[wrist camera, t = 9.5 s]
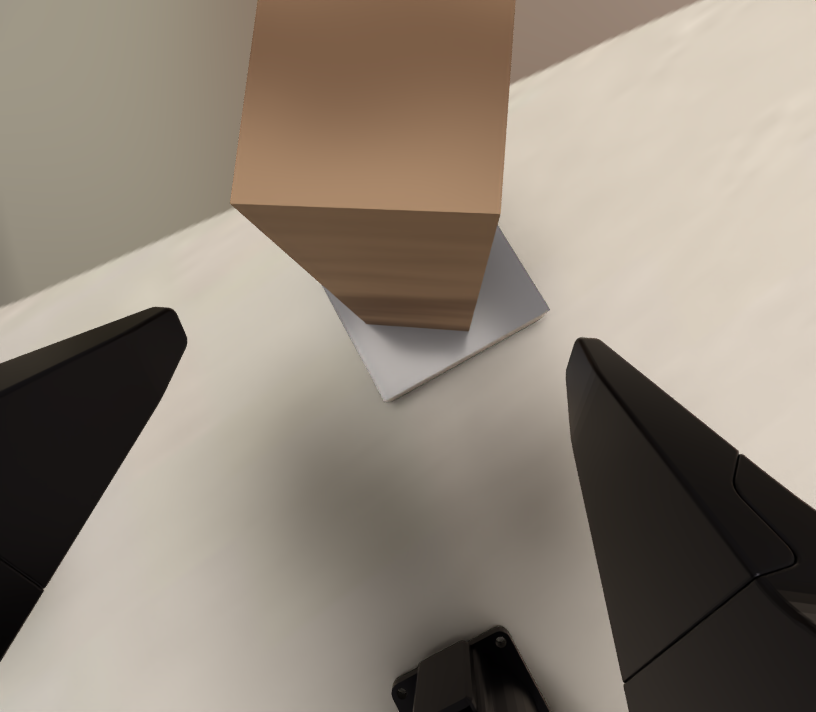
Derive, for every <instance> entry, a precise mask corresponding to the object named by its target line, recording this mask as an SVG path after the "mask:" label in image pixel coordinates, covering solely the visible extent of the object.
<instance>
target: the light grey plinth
mask: <svg viewBox="0 0 816 712" xmlns="http://www.w3.org/2000/svg"><path fill="white" fill-rule="evenodd" d="M322 286H323V285H322ZM323 288H324V290H325V292H326V294H327V296H328V297H329V299H330V301H331V303H332V305H333V307H334V309H335V311H336V312H337V314H338V316H339V318H340V320H341V322H342V324H343V326H344V328H345V329H346V331H347V333H348V335H349V337H350V339H351V341H352V343H353V344H354V346H355V348H356V350H357V352H358V354H359V356H360V358H361V359H362V361H363V363H364V365H365V367H366V369H367V371H368V373H369V375H370V376H371V378H372V380H373V382H374V384H375V386H376V388H377V390H378V391H379V393H380V395H381V397H382V399H383V401H384V402H392V401H394V400H395V399H397V398H399V397H401V396H403V395H404V394H406V393H408V392H410V391H412V390H413V389H415V388H417V387H419V386H421V385H422V384H424V383H426V382H428V381H430V380H431V379H433V378H435V377H437V376H439V375H440V374H442V373H444V372H446V371H448V370H449V369H451V368H453V367H455V366H457V365H458V364H460V363H462V362H464V361H466V360H467V359H469V358H471V357H473V356H475V355H476V354H478V353H480V352H482V351H484V350H485V349H487V348H489V347H491V346H493V345H495V344H496V343H498V342H500V341H502V340H504V339H505V338H507V337H509V336H511V335H513V334H514V333H516V332H518V331H520V330H522V329H523V328H525V327H527V326H529V325H531V324H532V323H534V322H536V321H538V320H539V319H540V318H542V317H543V316H544V315H545V314H546V313H547V312H548V311H549V310H550V309H549V307H548V305H547V304H546V302H545V301H544V299H543V297H542V296H541V294H540V293H539V291H538V289H537V288H536V286H535V284H534V283H533V281H532V280H531V278H530V276H529V275H528V273H527V272H526V270H525V268H524V267H523V265H522V263H521V262H520V260H519V259H518V257H517V255H516V254H515V252H514V251H513V249H512V247H511V246H510V244H509V243H508V241H507V239H506V238H505V236H504V234H503V233H502V231H501V230H500V228H499V226H498V225H497V228H496V232H495V236H494V240H493V243H492V247H491V251H490V255H489V258H488V262H487V266H486V269H485V273H484V277H483V281H482V284H481V288H480V292H479V296H478V299H477V303H476V307H475V310H474V314H473V318H472V322H471V325H470V329H469V331H456V330H442V329H428V328H414V327H400V326H386V325H372V324H366V323H365V322H364V321H362V320H361V319H360V318H359V317H358V316H357V315H356V314H355V313H353V312H352V311H351V310H350V309H349V308H348V307H347V306H345V305H344V304H343V303H342V302H341V301H340V300H339V299H338V298H336V297H335V296H334V295H333V294H332V293H331V292H330V291H328V290H327V289H326V288H325V287H324V286H323Z"/></svg>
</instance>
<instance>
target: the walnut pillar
mask: <svg viewBox="0 0 816 712" xmlns="http://www.w3.org/2000/svg"><path fill="white" fill-rule="evenodd" d="M514 14H515V0H258V2H257V9H256V17H255V24H254V31H253V39H252V46H251V53H250V60H249V68H248V75H247V82H246V90H245V97H244V104H243V112H242V120H241V126H240V134H239V141H238V148H237V156H236V163H235V171H234V178H233V185H232V193H231V200H230V204H231V205H232V206H233V207H234V208H236V209H237V210H238V211H239V212H240V213H241V214H242V215H243V216H245V217H246V218H247V219H248V220H249V221H250V222H251V223H253V224H254V225H255V226H256V227H257V228H258V229H259V230H260V231H262V232H263V233H264V234H265V235H266V236H267V237H268V238H270V239H271V240H272V241H273V242H274V243H275V244H276V245H277V246H279V247H280V248H281V249H282V250H283V251H284V252H285V253H287V254H288V255H289V256H290V257H291V258H292V259H293V260H294V261H296V262H297V263H298V264H299V265H300V266H301V267H302V268H304V269H305V270H306V271H307V272H308V273H309V274H310V275H311V276H313V277H314V278H315V279H316V280H317V281H318V282H319V283H321V284H322V285H323V286H324V287H325V288H326V289H327V290H328V291H330V292H331V293H332V294H333V295H334V296H335V297H336V298H338V299H339V300H340V301H341V302H342V303H343V304H344V305H345V306H347V307H348V308H349V309H350V310H351V311H352V312H353V313H355V314H356V315H357V316H358V317H359V318H360V319H361V320H362V321H364V322H365V323H366V324H372V325H386V326H400V327H414V328H428V329H442V330H456V331H469V329H470V325H471V322H472V318H473V314H474V310H475V307H476V303H477V299H478V296H479V292H480V288H481V284H482V281H483V277H484V273H485V269H486V266H487V262H488V258H489V255H490V251H491V247H492V243H493V240H494V236H495V232H496V228H497V225H498V221H499V217H500V213H501V198H502V184H503V170H504V156H505V142H506V128H507V113H508V99H509V85H510V71H511V57H512V43H513V29H514Z"/></svg>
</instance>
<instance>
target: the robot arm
mask: <svg viewBox="0 0 816 712" xmlns="http://www.w3.org/2000/svg"><path fill="white" fill-rule="evenodd" d="M186 346H187V336H186V334H185V331H184V329H183V327H182V324H181V322H180V320H179V318H178V315H177V313H176V312H175V311H174V310H173V309H171V308H166V307H152V308H149V309H146V310H143V311H141V312H138V313H135V314H133V315H130V316H127V317H124V318H122V319H119V320H116V321H114V322H111V323H108V324H106V325H103V326H100V327H97V328H95V329H92V330H89V331H87V332H84V333H81V334H79V335H76V336H73V337H70V338H68V339H65V340H62V341H60V342H57V343H54V344H51V345H49V346H46V347H43V348H41V349H38V350H35V351H33V352H30V353H27V354H24V355H22V356H19V357H16V358H14V359H11V360H8V361H6V362H3V363H0V662H1V660H2V658H3V657H4V655H5V654H6V652H7V650H8V649H9V647H10V645H11V644H12V642H13V641H14V639H15V637H16V636H17V634H18V632H19V631H20V629H21V628H22V626H23V624H24V623H25V621H26V619H27V618H28V616H29V615H30V613H31V611H32V610H33V608H34V606H35V605H36V603H37V602H38V600H39V598H40V597H41V595H42V593H43V592H44V588H45V587H46V586H47V585H48V583H49V581H50V580H51V578H52V576H53V575H54V573H55V572H56V570H57V568H58V567H59V565H60V563H61V562H62V560H63V559H64V557H65V555H66V554H67V552H68V550H69V549H70V547H71V546H72V544H73V542H74V541H75V539H76V537H77V536H78V534H79V533H80V531H81V529H82V528H83V526H84V524H85V523H86V521H87V520H88V518H89V516H90V515H91V513H92V511H93V510H94V508H95V507H96V505H97V503H98V502H99V500H100V498H101V497H102V495H103V493H104V492H105V490H106V489H107V487H108V485H109V484H110V482H111V480H112V479H113V477H114V476H115V474H116V472H117V471H118V469H119V467H120V466H121V464H122V463H123V461H124V459H125V458H126V456H127V454H128V453H129V451H130V450H131V448H132V446H133V445H134V443H135V441H136V440H137V438H138V437H139V435H140V433H141V432H142V430H143V428H144V427H145V425H146V424H147V422H148V420H149V419H150V417H151V415H152V414H153V412H154V411H155V409H156V407H157V406H158V404H159V402H160V400H161V399H162V397H163V395H164V393H165V391H166V389H167V387H168V384H169V382H170V380H171V378H172V376H173V374H174V372H175V370H176V368H177V366H178V363H179V361H180V359H181V357H182V355H183V353H184V351H185V349H186ZM566 387H567V399H568V412H569V424H570V435H571V442H572V448H573V453H574V458H575V462H576V467H577V471H578V476H579V481H580V485H581V490H582V495H583V499H584V504H585V509H586V513H587V518H588V522H589V527H590V532H591V536H592V541H593V546H594V550H595V555H596V560H597V564H598V569H599V573H600V578H601V583H602V587H603V592H604V597H605V601H606V606H607V611H608V615H609V620H610V624H611V629H612V634H613V638H614V643H615V648H616V652H617V657H618V662H619V666H620V671H621V675H622V680H623V682H624V683H625V684H624V691H625V695H626V700H627V705H628V709H629V712H816V510H815V509H813V508H812V507H811V506H809V505H808V504H807V503H805V502H804V501H802V500H801V499H800V498H798V497H797V496H796V495H794V494H793V493H792V492H790V491H789V490H788V489H786V488H785V487H784V486H783V485H781V484H780V483H779V482H777V481H776V480H775V479H774V478H772V477H771V476H770V475H768V474H767V473H766V472H765V471H763V470H762V469H761V468H759V467H758V466H757V465H756V464H754V463H753V462H752V461H751V460H750V459H748V458H747V457H746V456H745V455H743V454H739V451H738V450H737V449H736V448H734V447H733V446H732V445H731V444H729V443H728V442H727V441H726V440H724V439H723V438H722V437H721V436H719V435H718V434H717V433H716V432H714V431H713V430H712V429H711V428H709V427H708V426H707V425H706V424H704V423H703V422H702V421H701V420H699V419H698V418H697V417H696V416H694V415H693V414H692V413H691V412H689V411H688V410H687V409H686V408H684V407H683V406H682V405H681V404H679V403H678V402H677V401H676V400H674V399H673V398H672V397H671V396H669V395H668V394H667V393H666V392H664V391H663V390H662V389H661V388H660V387H658V386H657V385H656V384H655V383H653V382H652V381H651V380H650V379H648V378H647V377H646V376H645V375H643V374H642V373H641V372H640V371H638V370H637V369H636V368H635V367H633V366H632V365H631V364H630V363H628V362H627V361H626V360H625V359H623V358H622V357H621V356H620V355H618V354H617V353H616V352H615V351H613V350H612V349H611V348H610V347H608V346H607V345H606V344H605V343H603V342H602V341H601V340H599V339H597V338H583V337H580V338H578V339H577V340H576V341H575V343H574V346H573V349H572V353H571V356H570V359H569V362H568V365H567V369H566ZM498 637H504V638H505V641H504V642H502V643H499V642H497V641H496V639H497V638H498ZM399 688H403V689H405V690H406V693H403V694H402V693H400V692H399V691H398V689H399ZM392 697H393V700H394V702H395V704H396V706H397V708H398V710H399V712H551V711H550V709H549V707H548V705H547V703H546V701H545V700H544V698H543V696H542V694H541V692H540V690H539V688H538V686H537V684H536V683H535V681H534V679H533V677H532V675H531V673H530V671H529V669H528V668H527V666H526V664H525V662H524V660H523V658H522V656H521V654H520V653H519V651H518V649H517V647H516V645H515V643H514V641H513V639H512V638H511V636H510V634H509V632H508V631H507V630H506V629H505V628H503V627H495V628H493V629H491V630H489V631H487V632H485V633H483V634H482V635H480V636H478V637H476V638H474V639H472V640H470V641H468V642H467V641H460V642H458V643H456V644H454V645H452V646H450V647H448V648H446V649H445V650H443V651H441V652H439V653H437V654H435V655H433V656H431V657H429V658H427V659H425V660H423V661H422V662H420V664H419V667H418V668H416V669H415V670H413V671H411V672H409V673H407V674H405V675H403V676H401V677H399V678H398V679H396V680H395V682H394V684H393V687H392Z"/></svg>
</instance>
